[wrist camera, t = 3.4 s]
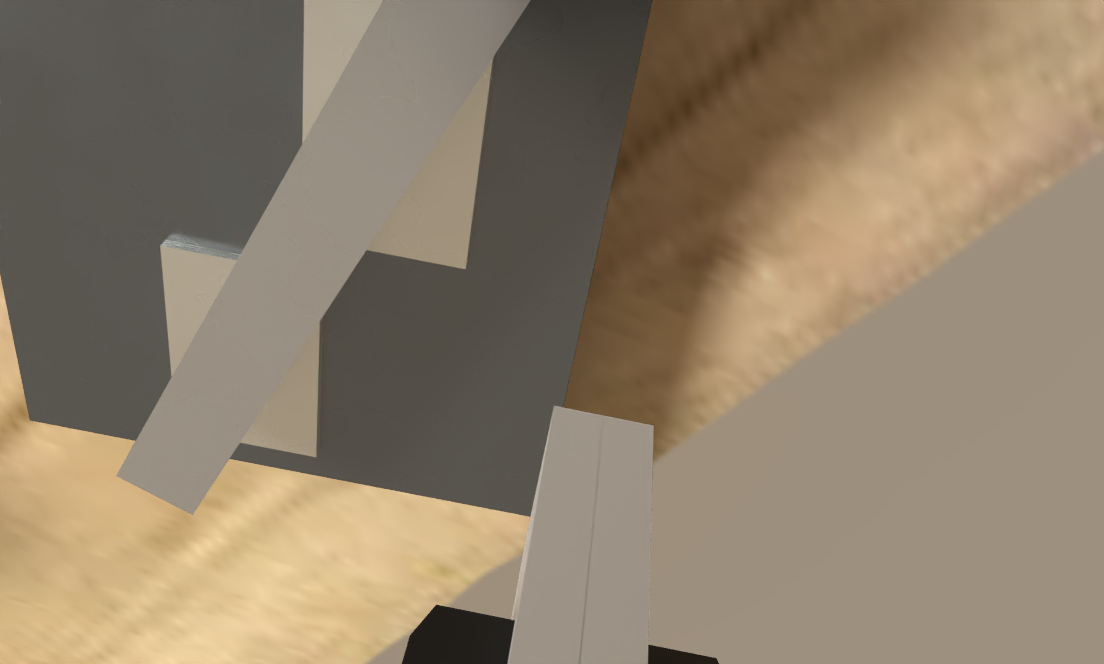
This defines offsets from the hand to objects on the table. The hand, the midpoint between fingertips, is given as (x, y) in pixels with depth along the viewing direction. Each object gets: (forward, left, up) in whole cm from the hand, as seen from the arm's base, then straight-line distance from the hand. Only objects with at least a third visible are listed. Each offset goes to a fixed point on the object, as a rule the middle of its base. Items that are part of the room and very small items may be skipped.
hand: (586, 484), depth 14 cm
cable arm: (-1, -6, -8) cm, 9 cm away
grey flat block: (0, -8, -13) cm, 15 cm away
